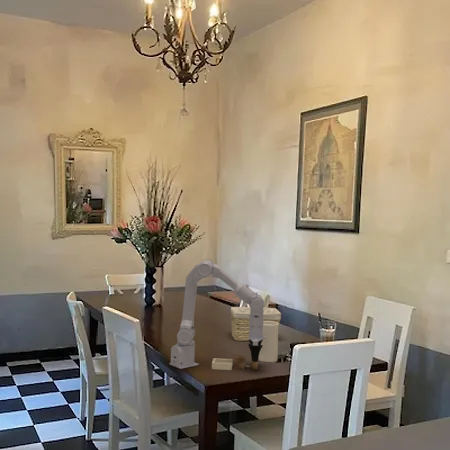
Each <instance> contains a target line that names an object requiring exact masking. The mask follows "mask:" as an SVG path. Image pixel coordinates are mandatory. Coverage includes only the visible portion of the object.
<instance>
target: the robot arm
mask: <svg viewBox="0 0 450 450" xmlns="http://www.w3.org/2000/svg"><path fill="white" fill-rule="evenodd" d="M210 275H211V278H213V279H215V278H216V279H219V280H221V281H222V282H224V283H225V284H226V285H227V286H229V287H230V288H231V289H232V290H234V295H235V296H236V297H237V298H239V299H240V300H241V301H242V302H244V303H245V304H246V305H249V306H248V307H250V318H249V336H248V338H249V341H248V342H249V343H248V345H247V346H248V348H249V350H250V355H251V356H250V357H252V362H258V363H259V359H258V358H259V353H260V350H261V348H262V346H263V345H261V343H262V341H263V339H266V337H265V336H263V320H264V315H263V313H264V310H263V308H264V307H265V299H264V298H263V297H262V295H260V294H259V293H258V292H257V291H256V292H255V291H253V289H251V288H250V285H249V284H248V283H246V284H245V283H239V282H238V281H237V280H235V279H234V277H232V276H231V275H229V274H228V273H227V272H226V270H224V269H223V268H222V267H221V266H219V265H218V264H217V263H214V262H213V261H212V260H210V259H205V260H203V261H201V262H199V263H198V264H196V265H194V267H193V268H192V269H191V270H190V272H189V273H188V274H187V276H185V277H186V278H185V286H184V296H183V306H182V307H183V308H182V316H181V322H180V326H179V330H178V332H177V334H176V339H177V342H176V344H175V345H173V346H171V348H170V362H169V365H170V366H172V367H174V368H177V369H180V370H183V369H187V368H192V367H196V366H199V363H197V362H195V351H196V349H195V348H196V344H195V343H196V341H195V340H194V338H195V336H196V329H195V311H196V301H197V291H198V290H197V289H198V283H199V282H200V281H201V280H202V279H206V278H207V277H210Z"/></svg>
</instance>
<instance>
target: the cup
mask: <svg viewBox="0 0 450 450" xmlns="http://www.w3.org/2000/svg"><path fill="white" fill-rule="evenodd" d="M279 323H280V322H279ZM279 323H278V322H274V321H263V336H265V337H266V339H263V341H262V343H261V345H263V346H262V348H261V350H260V353H259V358H258V361H260V362H263V363H264V362H266V363H275V362H278V355H279V354H278V353H279V350H278V348H279V347H278V346H279V331H278V330H279V329H278V326H279V327H280V324H279Z"/></svg>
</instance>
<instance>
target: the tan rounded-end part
mask: <svg viewBox="0 0 450 450" xmlns="http://www.w3.org/2000/svg"><path fill="white" fill-rule="evenodd" d="M250 357H251V356H250ZM233 358H234V359H233V361H234V362H233V363H234V366H233V369H234V370H245V368H250V369H251V370H255V371H257V370H258V365H259V364H258V363H259V361H258V362H252V357H251V360H250V361H251V363H250V364H251V365H248V364H246V355H241V354H240V355H237V354H236V355H235V356H234V357H233Z"/></svg>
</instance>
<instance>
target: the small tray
mask: <svg viewBox="0 0 450 450" xmlns="http://www.w3.org/2000/svg"><path fill="white" fill-rule="evenodd" d="M233 361H234V359H233V358H215V357H214V358H212V361H211V370H220V371H221V370H222V371H232V370H233V369H232V368H233V367H234V366H233V363H234V362H233Z"/></svg>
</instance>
